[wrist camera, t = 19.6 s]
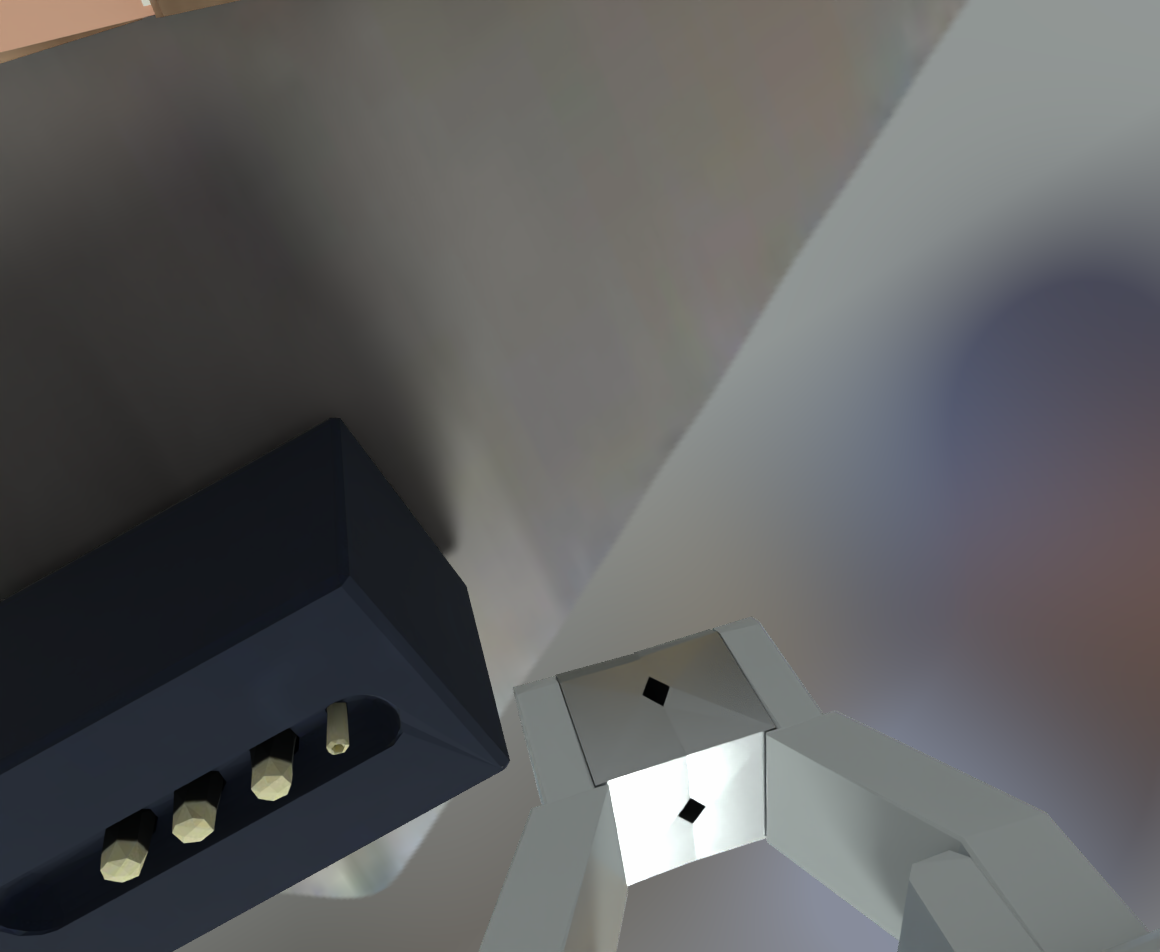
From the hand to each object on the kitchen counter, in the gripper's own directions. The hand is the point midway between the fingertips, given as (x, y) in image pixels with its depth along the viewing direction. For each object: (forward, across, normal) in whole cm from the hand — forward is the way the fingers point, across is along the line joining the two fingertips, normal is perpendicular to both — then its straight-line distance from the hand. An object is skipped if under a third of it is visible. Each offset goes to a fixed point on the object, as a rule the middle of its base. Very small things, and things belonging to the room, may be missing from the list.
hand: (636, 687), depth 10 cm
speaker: (+31, +14, +19) cm, 39 cm away
